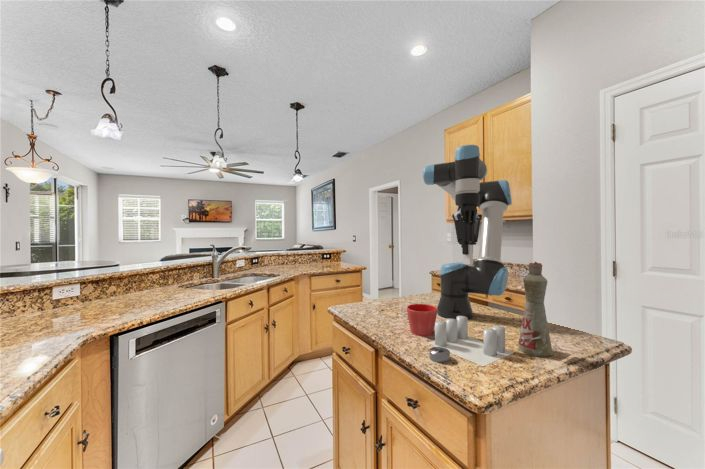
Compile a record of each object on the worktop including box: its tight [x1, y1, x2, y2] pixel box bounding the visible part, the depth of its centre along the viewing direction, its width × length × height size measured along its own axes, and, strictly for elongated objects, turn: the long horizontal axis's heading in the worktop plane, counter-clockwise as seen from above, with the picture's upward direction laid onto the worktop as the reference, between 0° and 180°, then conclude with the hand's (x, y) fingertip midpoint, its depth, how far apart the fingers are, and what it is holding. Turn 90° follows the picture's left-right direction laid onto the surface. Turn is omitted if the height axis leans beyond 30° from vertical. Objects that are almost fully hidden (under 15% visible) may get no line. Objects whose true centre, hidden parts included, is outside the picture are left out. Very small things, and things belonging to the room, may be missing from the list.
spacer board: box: [427, 316, 515, 367], centre depth 90 cm, size 16×20×8 cm
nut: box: [429, 346, 451, 364], centre depth 82 cm, size 6×6×3 cm
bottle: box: [517, 261, 554, 358], centre depth 87 cm, size 9×9×28 cm
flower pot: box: [406, 303, 438, 337], centre depth 104 cm, size 11×11×10 cm
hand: (467, 264), depth 95 cm, fingers closed
